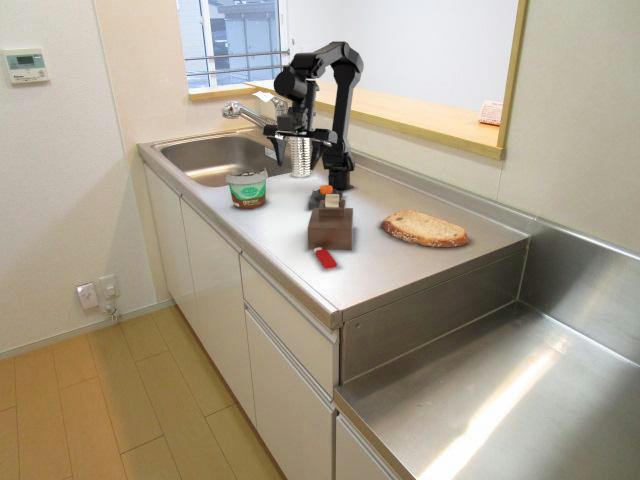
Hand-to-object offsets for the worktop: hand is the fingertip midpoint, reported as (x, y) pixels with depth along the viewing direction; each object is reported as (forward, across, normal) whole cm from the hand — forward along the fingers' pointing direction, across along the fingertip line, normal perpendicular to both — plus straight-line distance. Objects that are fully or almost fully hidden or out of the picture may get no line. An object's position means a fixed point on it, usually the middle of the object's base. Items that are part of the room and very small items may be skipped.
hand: (295, 168), depth 114 cm
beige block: (+8, +12, -1) cm, 14 cm away
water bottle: (+1, -18, +38) cm, 42 cm away
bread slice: (+12, +32, +9) cm, 36 cm away
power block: (+8, +2, +18) cm, 20 cm away
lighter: (+20, +17, -12) cm, 28 cm away
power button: (+5, +2, +17) cm, 18 cm away
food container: (+12, -16, +8) cm, 22 cm away
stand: (+16, +14, -2) cm, 21 cm away
